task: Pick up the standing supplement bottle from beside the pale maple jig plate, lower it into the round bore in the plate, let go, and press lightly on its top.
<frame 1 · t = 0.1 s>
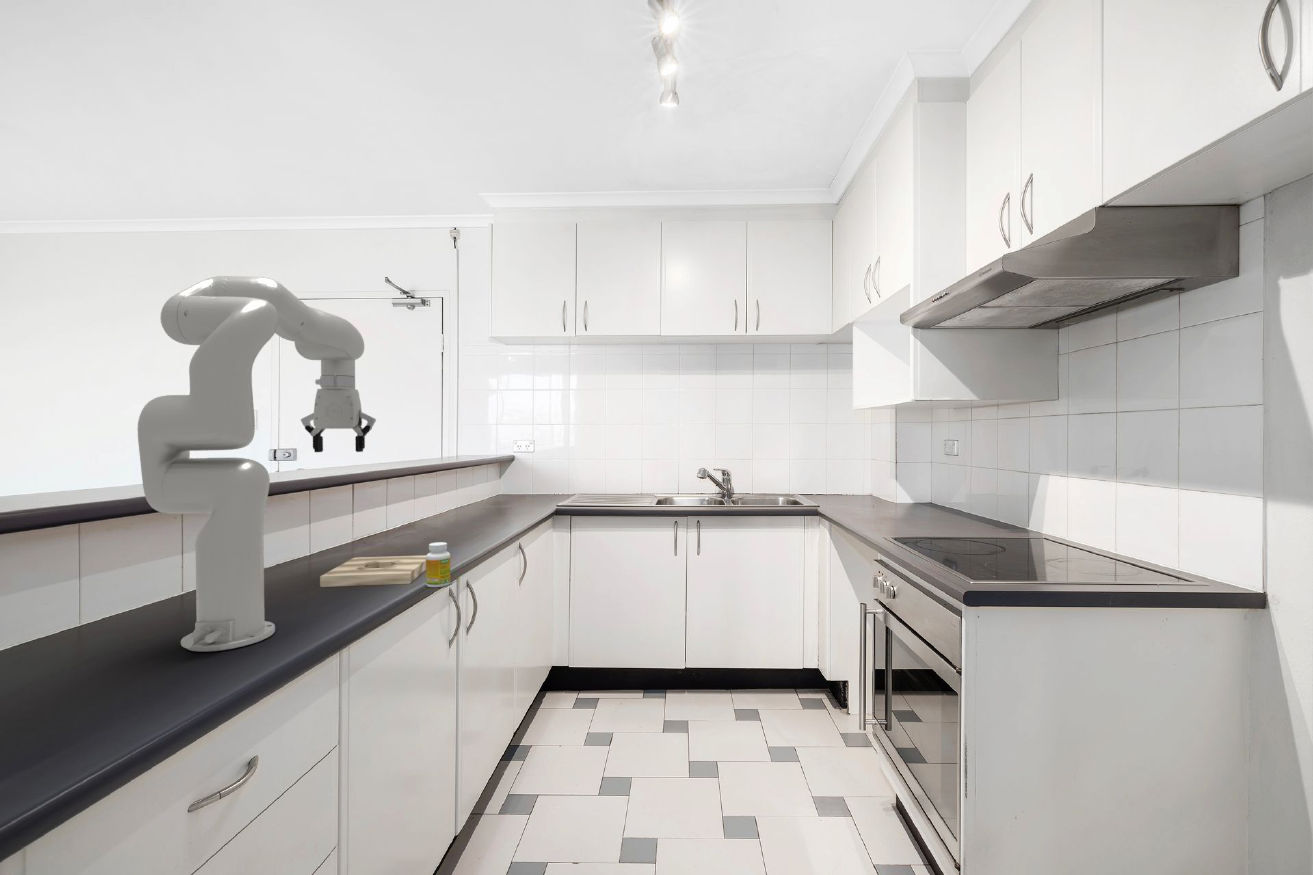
hand: (339, 451, 144), 31 cm above the worktop, tool pointing down, fingers open, 9 cm apart
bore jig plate: (380, 574, 145), on the worktop
supplement bottle: (438, 585, 135), on the worktop
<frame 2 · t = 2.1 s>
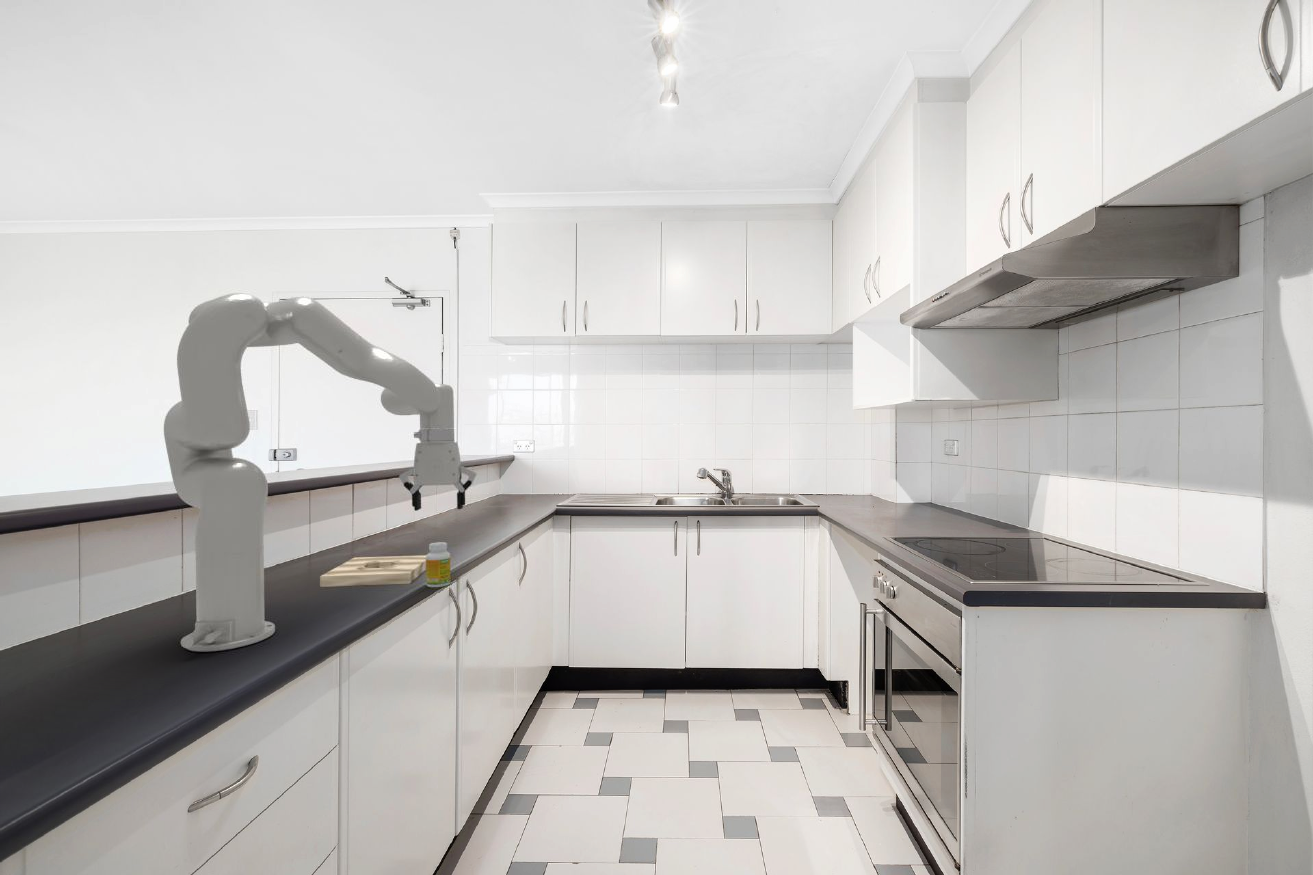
hand: (439, 509, 135), 18 cm above the worktop, tool pointing down, fingers open, 9 cm apart
nothing on the worktop moved.
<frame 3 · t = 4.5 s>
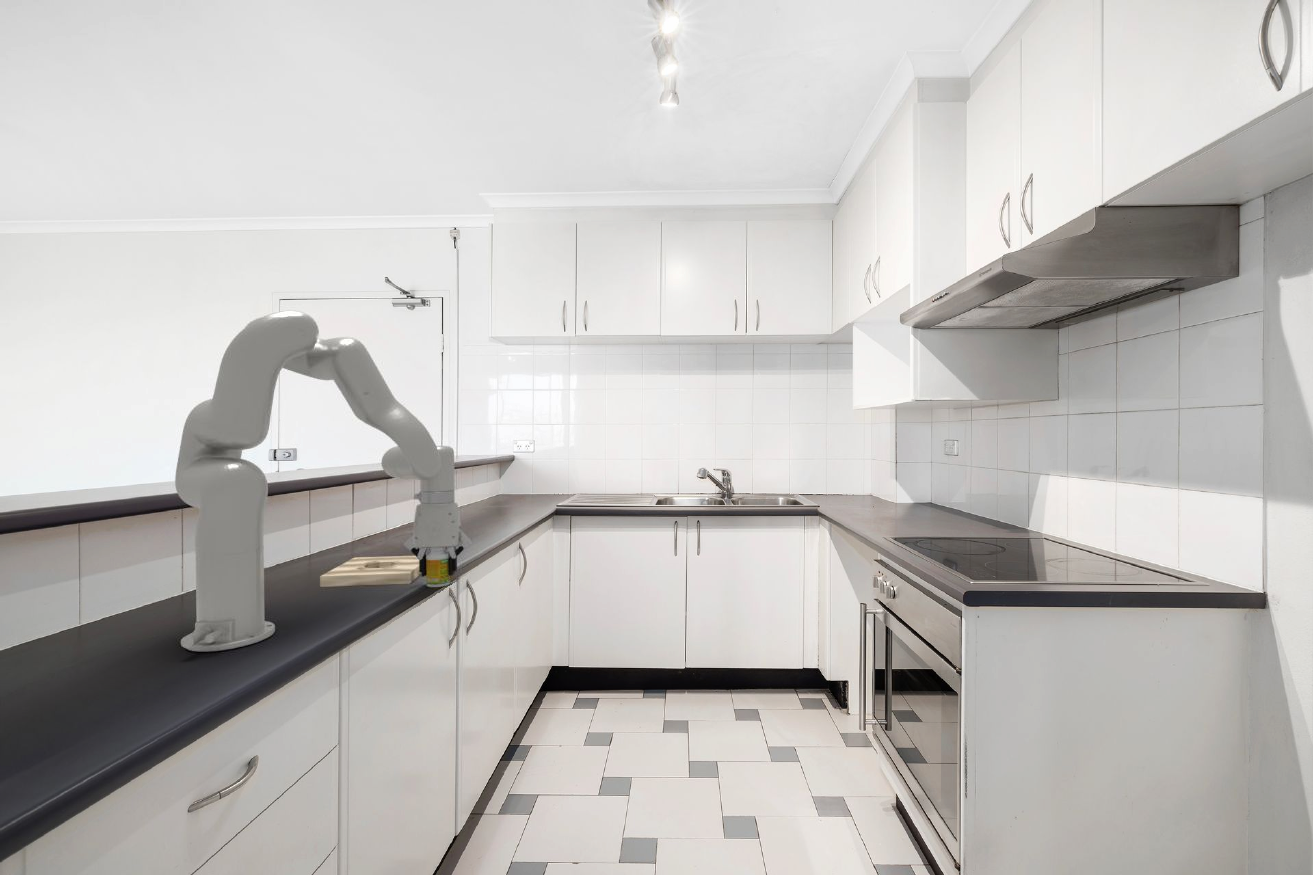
hand: (438, 574, 135), 3 cm above the worktop, tool pointing down, fingers closed on supplement bottle, 5 cm apart
supplement bottle: (438, 585, 135), on the worktop, touching gripper
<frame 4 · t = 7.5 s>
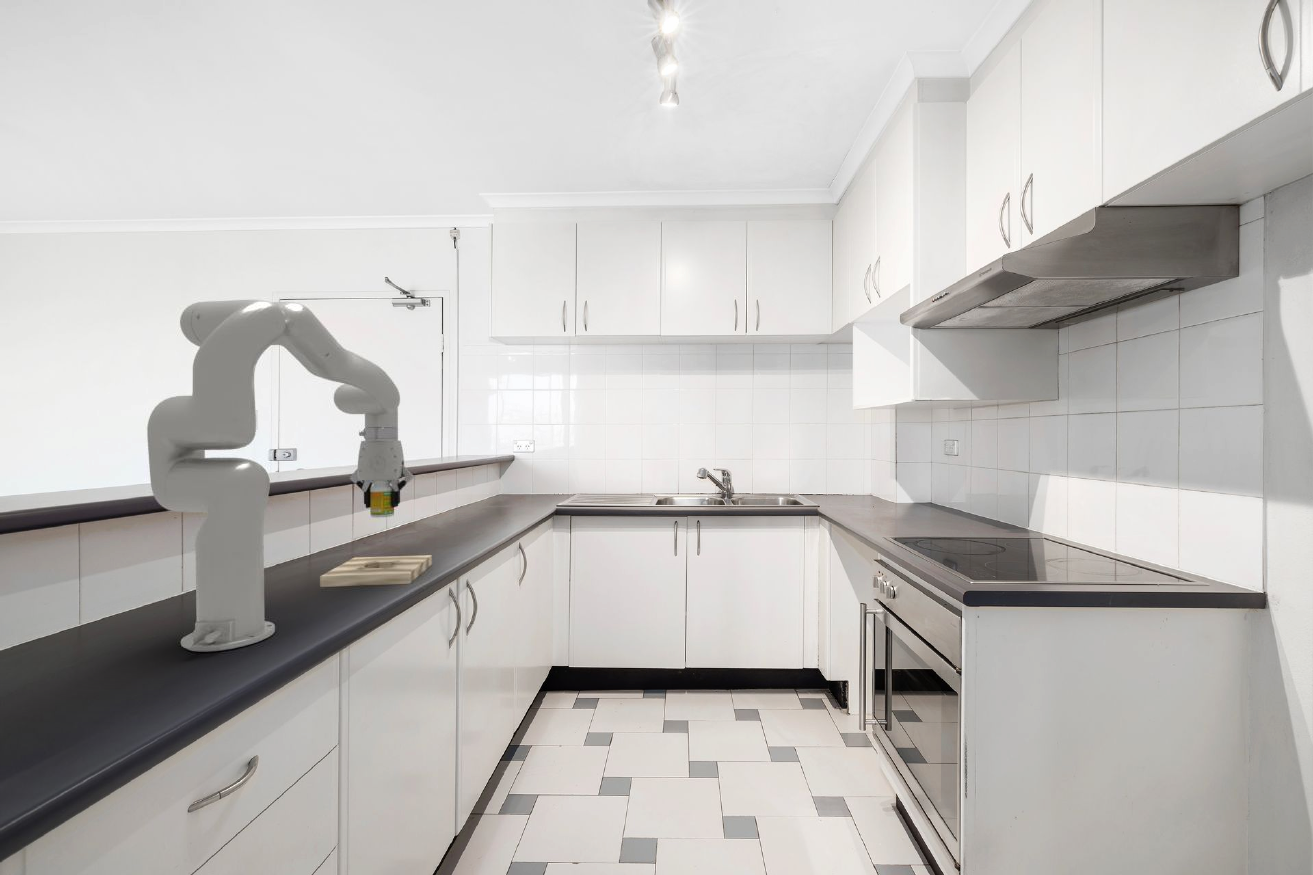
hand: (382, 506, 144), 17 cm above the worktop, tool pointing down, fingers closed on supplement bottle, 5 cm apart
supplement bottle: (382, 517, 144), point 15 cm above the worktop, touching gripper
when the fingers open (4 cm above the worktop, at t = 10.7 s): supplement bottle drops 1 cm, resting in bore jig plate.
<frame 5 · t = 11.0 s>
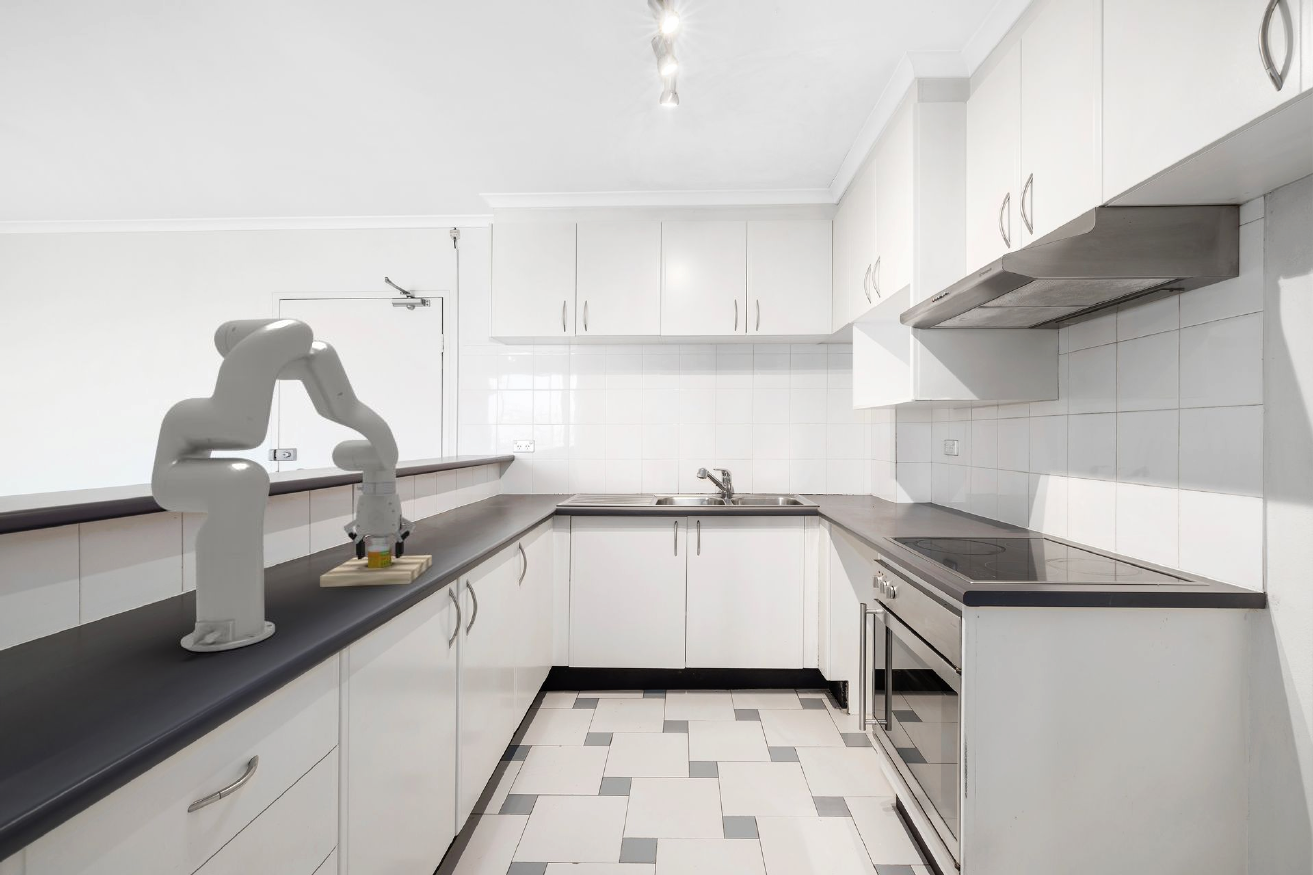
hand: (380, 557, 145), 4 cm above the worktop, tool pointing down, fingers open, 8 cm apart
supplement bottle: (379, 575, 144), resting in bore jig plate
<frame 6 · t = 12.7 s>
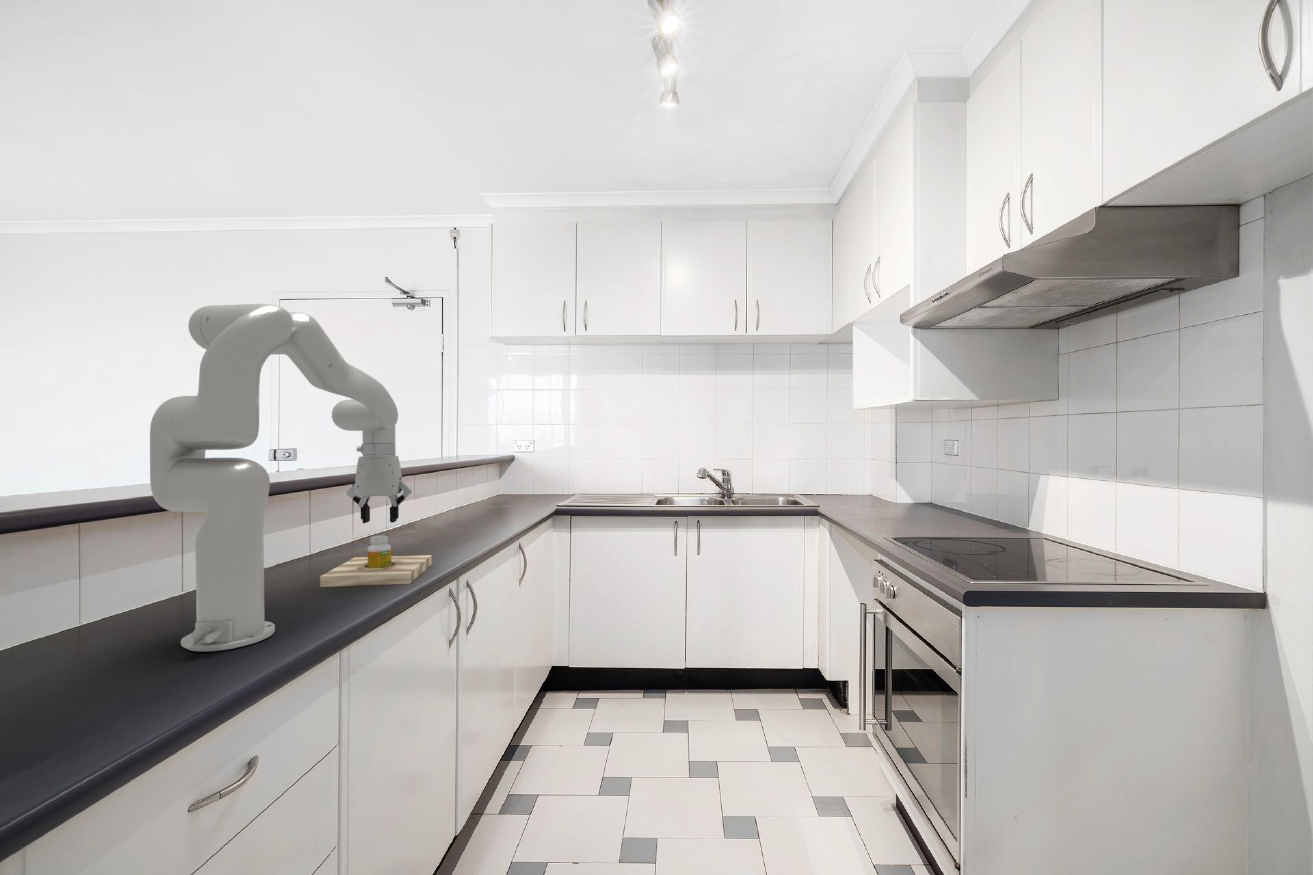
hand: (379, 521, 145), 14 cm above the worktop, tool pointing down, fingers open, 5 cm apart
nothing on the worktop moved.
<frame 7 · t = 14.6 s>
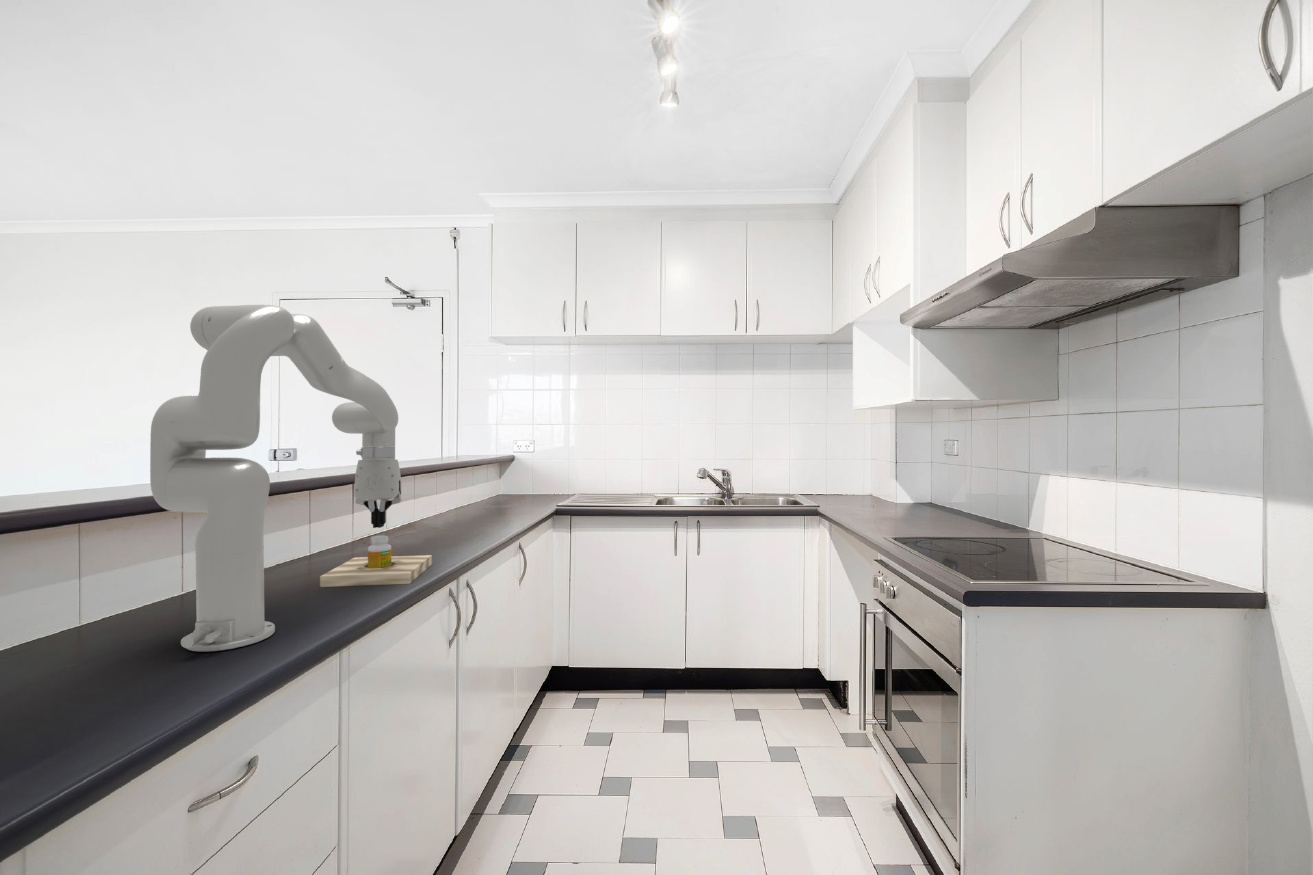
hand: (378, 526, 144), 12 cm above the worktop, tool pointing down, fingers closed
nothing on the worktop moved.
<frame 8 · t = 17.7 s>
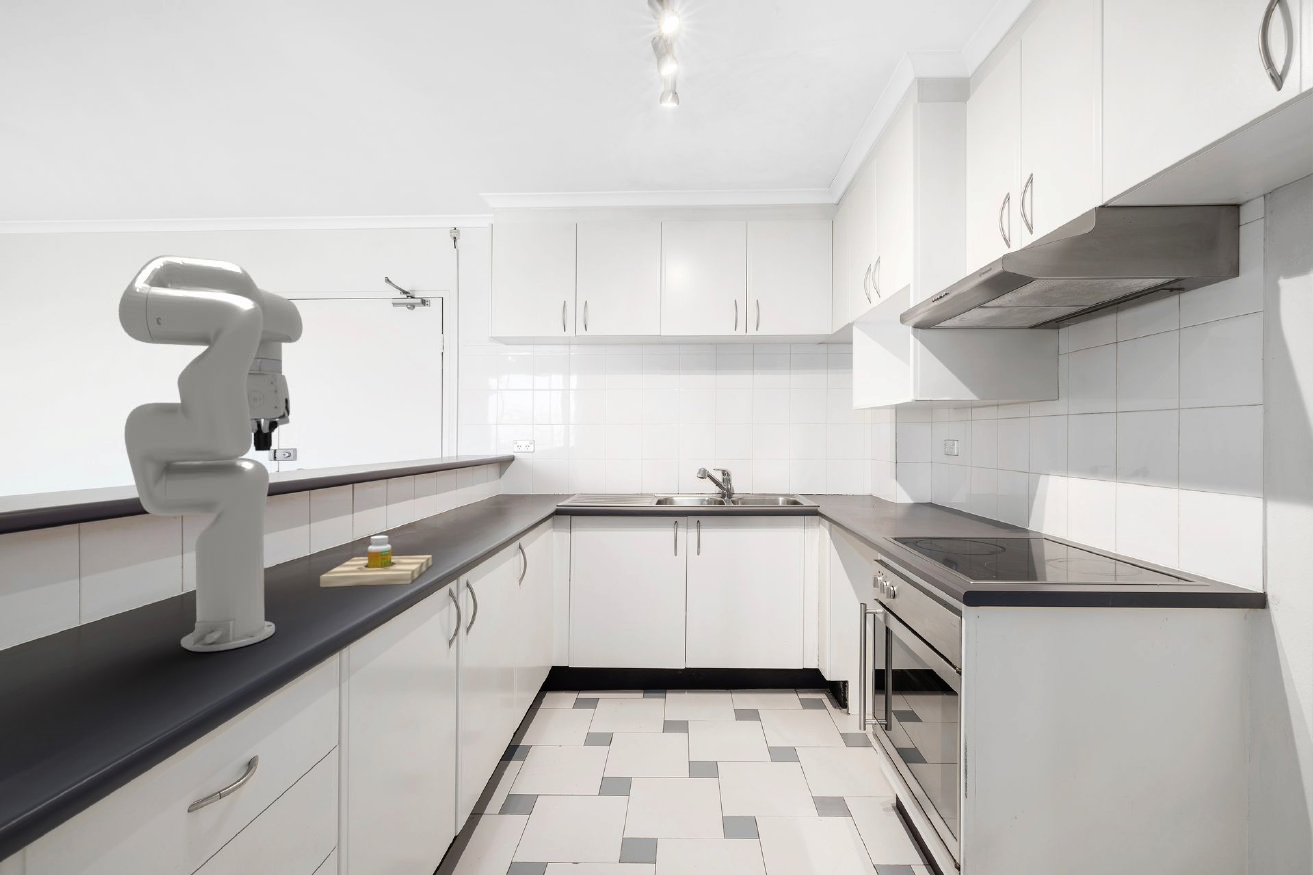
hand: (262, 450, 128), 32 cm above the worktop, tool pointing down, fingers closed
nothing on the worktop moved.
at the end: supplement bottle 0.2 cm from the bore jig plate (horizontally); supplement bottle resting in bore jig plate; supplement bottle tilted 0° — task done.
